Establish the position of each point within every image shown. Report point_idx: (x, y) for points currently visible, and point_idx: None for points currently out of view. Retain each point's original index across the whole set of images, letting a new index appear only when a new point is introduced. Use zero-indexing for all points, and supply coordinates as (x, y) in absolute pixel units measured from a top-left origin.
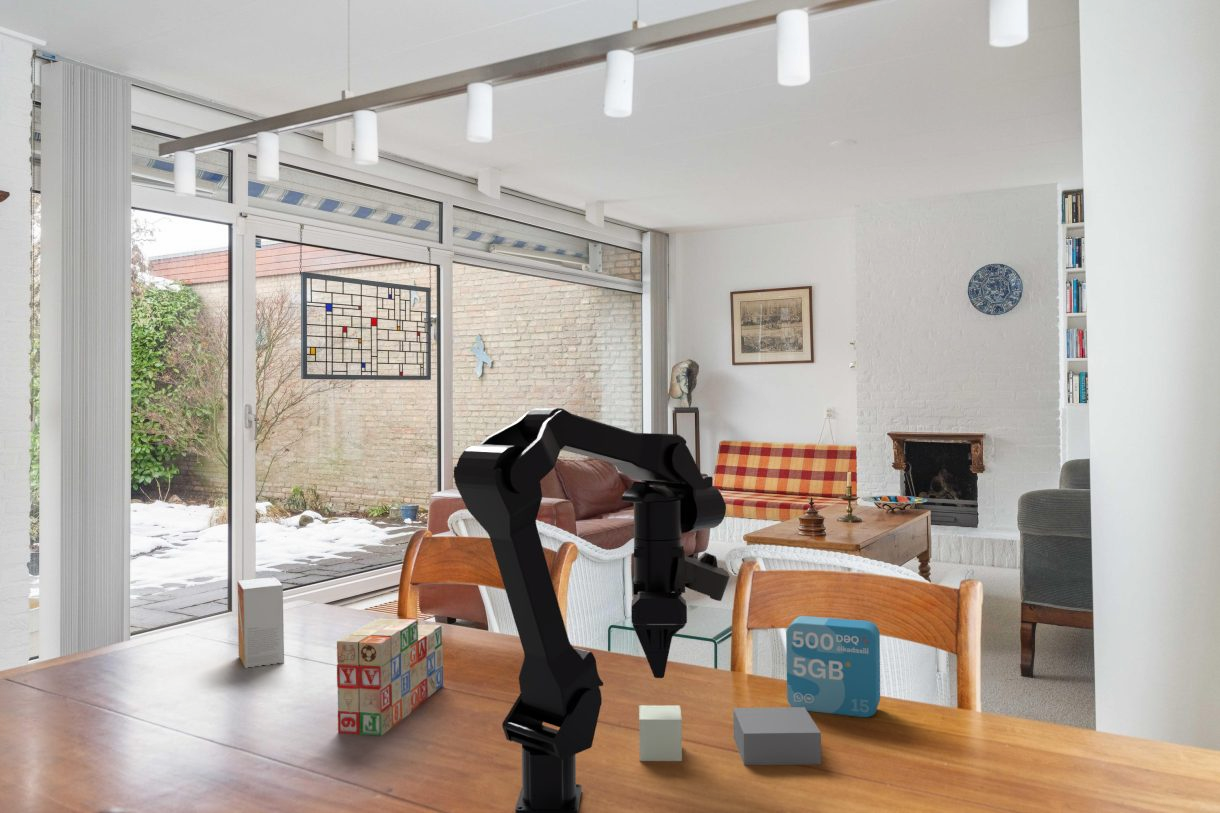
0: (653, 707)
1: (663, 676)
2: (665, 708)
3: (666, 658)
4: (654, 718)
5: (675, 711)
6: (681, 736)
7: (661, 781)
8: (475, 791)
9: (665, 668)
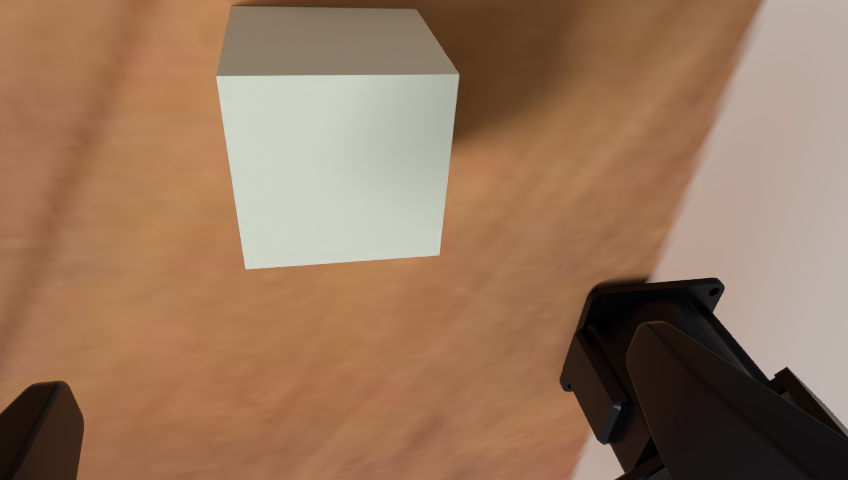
0: (270, 210)
1: (667, 326)
2: (280, 154)
3: (808, 423)
4: (432, 199)
5: (327, 103)
6: (436, 44)
7: (586, 91)
8: (544, 441)
9: (724, 361)
